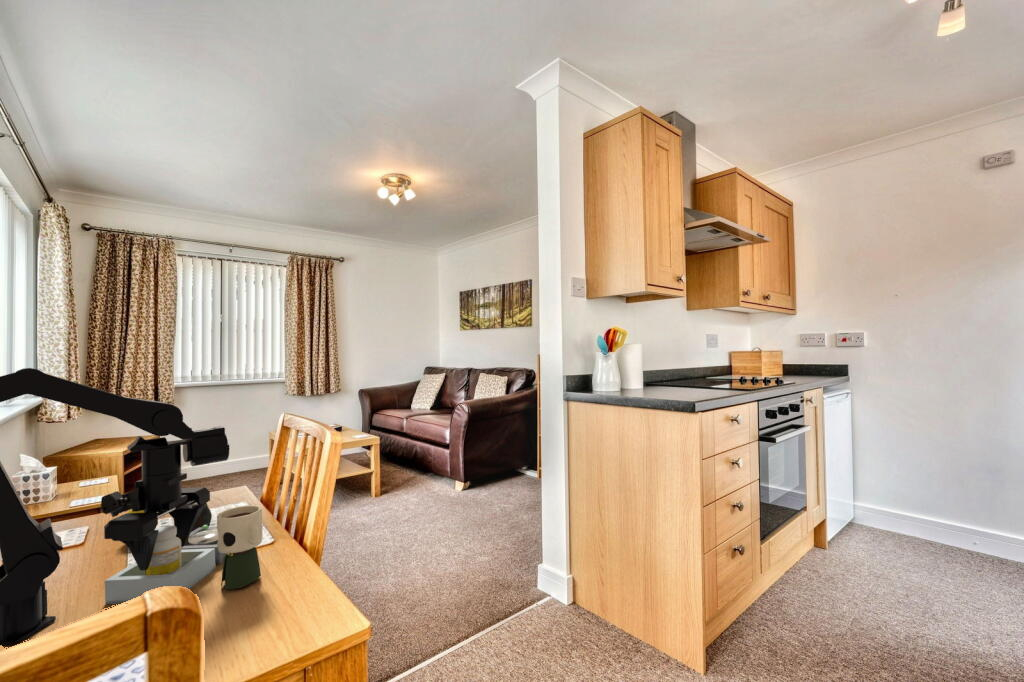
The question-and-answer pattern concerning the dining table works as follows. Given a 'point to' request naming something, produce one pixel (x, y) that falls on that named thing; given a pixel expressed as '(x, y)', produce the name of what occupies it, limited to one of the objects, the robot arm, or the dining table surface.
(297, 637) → the dining table surface
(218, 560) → the grey square tray
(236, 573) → the character mug
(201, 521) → the mate gourd
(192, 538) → the disc
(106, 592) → the bin
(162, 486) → the robot arm
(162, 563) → the supplement bottle
